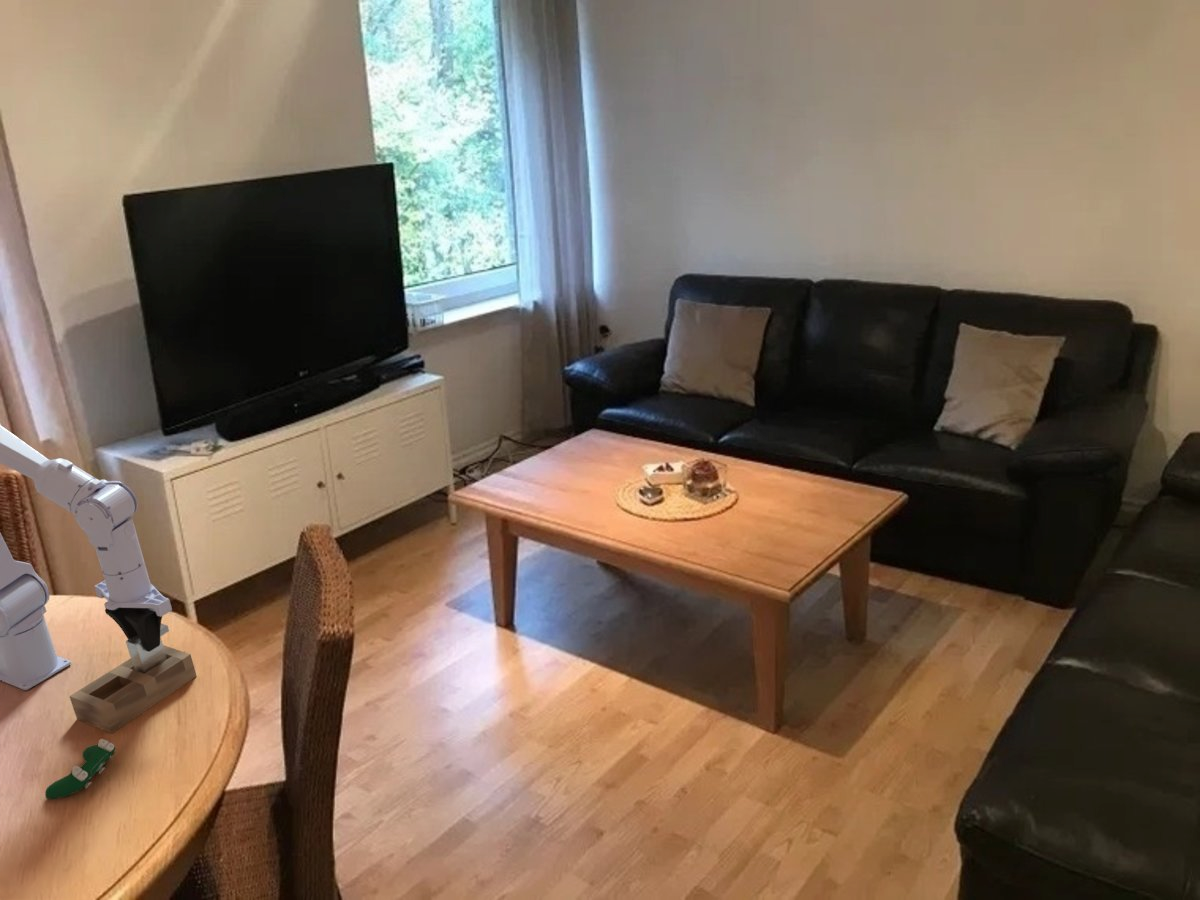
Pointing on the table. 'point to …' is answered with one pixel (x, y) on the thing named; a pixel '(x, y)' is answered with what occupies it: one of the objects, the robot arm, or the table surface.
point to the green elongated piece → (82, 770)
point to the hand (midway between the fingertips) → (146, 645)
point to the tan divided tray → (131, 691)
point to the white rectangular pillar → (146, 653)
